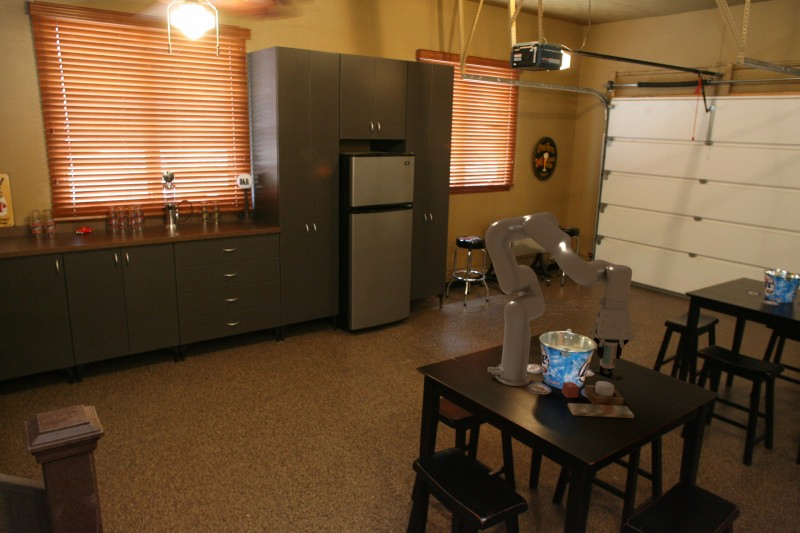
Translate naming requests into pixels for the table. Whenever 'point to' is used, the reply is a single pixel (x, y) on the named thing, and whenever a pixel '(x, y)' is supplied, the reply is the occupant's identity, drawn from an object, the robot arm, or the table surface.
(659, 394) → the table surface
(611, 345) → the spice shaker bottle
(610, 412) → the board
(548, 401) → the table surface
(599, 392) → the white squat cylinder
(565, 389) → the die
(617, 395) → the square wooden tray
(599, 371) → the black irregular block
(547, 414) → the table surface
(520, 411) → the table surface
